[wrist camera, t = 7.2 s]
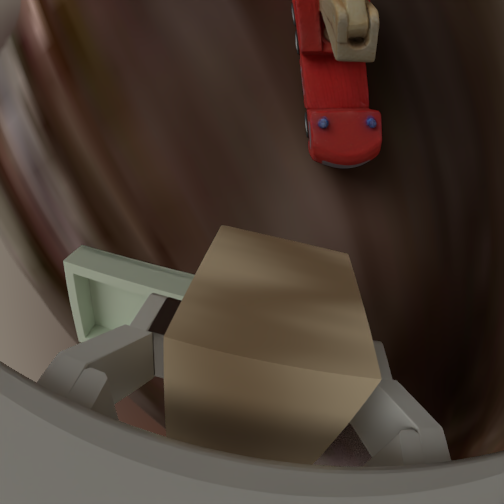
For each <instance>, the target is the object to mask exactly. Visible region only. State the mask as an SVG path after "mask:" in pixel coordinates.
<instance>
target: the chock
mask: <svg viewBox="0 0 504 504" xmlns="http://www.w3.org/2000/svg"><path fill="white" fill-rule="evenodd" d="M381 380H382V378H381V373H380V369H379V365H378V360H377V356H376V352H375V348H374V344H373V340H372V336H371V332H370V328H369V324H368V320H367V317H366V313H365V309H364V306H363V302H362V299H361V295H360V292H359V288H358V285H357V281H356V278H355V275H354V271H353V268H352V265H351V262H350V259H349V255H348V254H346V253H342V252H338V251H334V250H329V249H325V248H321V247H317V246H312V245H308V244H304V243H299V242H295V241H291V240H286V239H282V238H278V237H273V236H269V235H264V234H260V233H256V232H251V231H247V230H242V229H238V228H233V227H229V226H224V225H221V227H220V229H219V231H218V233H217V235H216V236H215V238H214V240H213V242H212V244H211V246H210V248H209V249H208V251H207V253H206V255H205V257H204V259H203V261H202V263H201V264H200V266H199V268H198V270H197V272H196V274H195V276H194V278H193V280H192V282H191V284H190V285H189V287H188V289H187V291H186V293H185V295H184V297H183V299H182V301H181V303H180V305H179V307H178V309H177V311H176V313H175V315H174V317H173V319H172V321H171V323H170V325H169V327H168V329H167V331H166V333H165V335H164V397H165V419H166V435H167V437H168V438H172V439H175V440H179V441H182V442H186V443H190V444H193V445H197V446H201V447H205V448H210V449H214V450H219V451H223V452H228V453H233V454H238V455H244V456H249V457H255V458H261V459H268V460H275V461H283V462H291V463H301V464H313V463H314V462H315V461H316V460H317V459H318V458H319V457H320V456H321V455H322V454H323V452H324V451H325V450H326V449H327V448H328V447H329V446H330V445H331V443H332V442H333V441H334V440H335V439H336V438H337V437H338V435H339V434H340V433H341V432H342V431H343V429H344V428H345V427H346V426H347V425H348V423H349V422H350V421H351V420H352V418H353V417H354V416H355V415H356V413H357V412H358V411H359V410H360V408H361V407H362V406H363V404H364V403H365V402H366V400H367V399H368V398H369V396H370V395H371V394H372V392H373V391H374V390H375V388H376V387H377V385H378V384H379V383H380V381H381Z"/></svg>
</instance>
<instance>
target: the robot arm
mask: <svg viewBox="0 0 504 504" xmlns="http://www.w3.org/2000/svg"><path fill="white" fill-rule="evenodd" d="M180 303H181V300H178V299H174V298H171V297H167V296H163V295H160V294H156V293H152V294H150V295H149V296H148V298H147V299H146V301H145V302H144V304H143V306H142V307H141V309H140V310H139V312H138V313H137V315H136V316H135V318H134V319H133V321H132V322H131V324H130V326H129V325H126V324H124V325H122V326H120V327H117V328H115V329H113V330H110V331H108V332H106V333H103V334H101V335H99V336H96V337H94V338H92V339H89V340H87V341H84V342H82V343H80V344H77V345H75V346H73V347H70V348H68V349H65V350H63V351H61V352H59V353H58V354H57V355H56V357H55V358H54V360H53V361H52V362H51V364H50V365H49V366H48V368H47V369H46V370H45V372H44V373H43V375H42V376H41V377H40V379H39V380H38V382H37V383H36V382H34V381H33V380H31V379H29V378H27V377H25V376H24V375H22V374H20V373H19V372H17V371H15V370H13V369H12V368H10V367H9V366H7V365H6V364H4V363H2V362H0V504H504V451H500V452H496V453H492V454H487V455H482V456H477V457H472V458H466V459H460V460H453V461H451V459H450V455H449V451H448V447H447V443H446V439H445V435H444V431H443V428H442V427H441V426H440V425H439V424H438V423H437V422H436V421H435V420H434V419H433V418H432V416H431V415H430V414H429V413H428V412H427V411H426V410H425V409H424V408H423V407H422V406H421V405H420V404H419V403H418V402H417V401H416V400H415V399H414V398H413V397H412V396H411V395H410V394H409V393H408V392H407V391H406V389H405V388H404V387H403V386H402V385H401V384H400V383H399V382H398V381H397V380H392V376H391V372H390V368H389V365H388V361H387V357H386V354H385V350H384V347H383V344H382V342H381V341H374V340H373V344H374V348H375V352H376V356H377V360H378V365H379V369H380V373H381V378H382V380H381V381H380V383H379V384H378V385H377V387H376V388H375V390H374V391H373V392H372V394H371V395H370V396H369V398H368V399H367V400H366V402H365V403H364V404H363V406H362V407H361V408H360V410H359V411H358V412H357V413H356V415H355V416H354V417H353V418H352V420H351V421H350V423H351V425H352V426H353V428H354V430H355V431H356V433H357V434H358V436H359V437H360V439H361V441H362V442H363V444H364V445H365V447H366V448H367V450H368V452H369V453H370V455H371V456H372V459H370V460H369V461H368V462H367V463H366V464H365V465H364V466H362V467H350V466H326V465H312V464H301V463H291V462H283V461H275V460H268V459H261V458H255V457H249V456H244V455H238V454H233V453H228V452H223V451H219V450H214V449H210V448H205V447H201V446H197V445H193V444H190V443H186V442H182V441H179V440H175V439H172V438H168V437H165V436H161V435H158V434H155V433H152V432H149V431H146V430H143V429H140V428H137V427H134V426H131V425H129V424H126V423H124V422H121V421H119V420H118V416H117V413H116V410H115V406H114V404H116V403H117V402H119V401H120V400H122V399H123V398H125V397H126V396H128V395H129V394H130V393H132V392H133V391H135V390H136V389H138V388H139V387H141V386H142V385H144V384H145V383H147V382H148V381H149V380H151V379H152V378H154V376H157V377H161V378H164V335H165V333H166V331H167V329H168V327H169V325H170V323H171V321H172V319H173V317H174V315H175V313H176V311H177V309H178V307H179V305H180Z"/></svg>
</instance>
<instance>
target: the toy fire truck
mask: <svg viewBox="0 0 504 504" xmlns="http://www.w3.org/2000/svg"><path fill="white" fill-rule="evenodd" d="M292 1H293V3H292V4H291V8H292V15H293V22H294V25H295V26H296V27H297V30H296V31H295V40H296V49H297V53H298V55H300V57H301V58H300V69H301V78H302V87H303V95H304V104H305V108H306V109H307V112H306V113H305V127H306V135H307V137H308V138H309V141H308V148H309V153H310V156H311V157H312V159H313V160H314V161H316V162H319V163H321V164H324V165H327V166H331V167H335V168H353V167H357V166H361V165H363V164H365V163H367V162H369V161H371V160H372V159H374V158H375V157H376V156H377V155H378V154H379V152H380V149H381V143H382V125H381V113H380V112H379V111H378V110H373V109H369V94H368V93H369V91H368V81H367V72H366V63H365V62H374V60H375V55H376V47H377V41H378V32H379V15H378V11H377V9H376V8H375V7H374V5H373V4H372V3H371V2H370V0H292Z"/></svg>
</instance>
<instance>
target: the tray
mask: <svg viewBox="0 0 504 504" xmlns="http://www.w3.org/2000/svg"><path fill="white" fill-rule="evenodd" d="M63 263H64V270H65V276H66V282H67V288H68V293H69V299H70V304H71V309H72V313H73V318H74V322H75V327H76V331H77V335H78V339H79V341H80V342H84V341H87V340H89V339H92V338H94V337H96V336H99V335H101V334H103V333H106V332H108V331H110V330H113V329H115V328H117V327H120V326H122V325H124V324H126V325H129V326H130V324H131V322H132V321H133V319H134V318H135V316H136V315H137V313H138V312H139V310H140V309H141V307H142V306H143V304H144V302H145V301H146V299H147V298H148V296H149V295H150V294H152V293H156V294H160V295H163V296H167V297H171V298H174V299H178V300H181V301H182V299H183V297H184V295H185V293H186V291H187V289H188V287H189V285H190V284H191V282H192V280H193V278H194V276H195V275H193V274H189V273H185V272H181V271H177V270H173V269H169V268H166V267H162V266H158V265H154V264H150V263H146V262H143V261H139V260H135V259H131V258H128V257H124V256H120V255H116V254H113V253H109V252H106V251H102V250H98V249H95V248H91V247H88V246H84V245H81V246H80V247H79V248H78V249H77V250H75V251H74V252H73V253H72V254H71V255H69V256H68V257H67V258H66V259H65V260H64V261H63Z"/></svg>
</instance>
